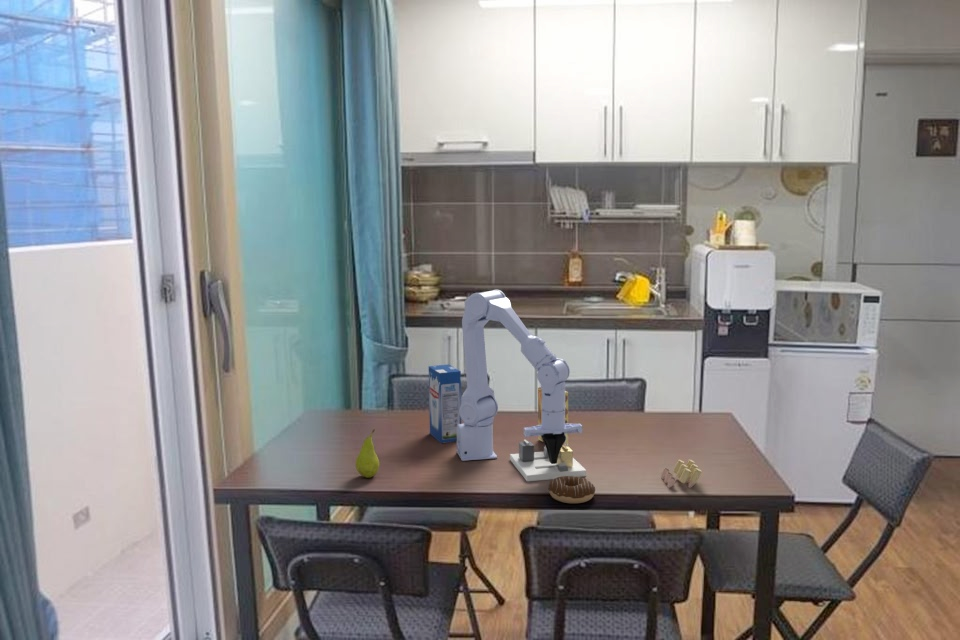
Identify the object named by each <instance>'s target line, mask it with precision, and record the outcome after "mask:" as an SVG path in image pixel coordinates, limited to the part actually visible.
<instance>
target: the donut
mask: <svg viewBox="0 0 960 640" xmlns="http://www.w3.org/2000/svg"><path fill="white" fill-rule="evenodd" d="M595 492H596V487H595V485H594V483H592V482H591V481H589V480H588V479H586V478H584V477H575V476H562V477H557V478H555V479H551V481H549V484H548V493H549V494H550V496H551V498H552V499H554V500H555V501H557V502H561V503H565V504H582V503H586V502H588V501H590V500H592V498H593V497H594V495H595Z"/></svg>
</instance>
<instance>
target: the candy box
mask: <svg viewBox="0 0 960 640" xmlns="http://www.w3.org/2000/svg"><path fill="white" fill-rule="evenodd" d="M537 410H538V411H537V417H538V418H537V423H538V424H537V425H542V390H541V386H540V387H537ZM565 423H567V424H569V392H568V391H566V390H565ZM564 435H565V436H566V440H565V445H568V446H569V433H565V434H564ZM537 439H538V441H540V442H542V443H544V441H543V439H542V437H541V435H540V436H538V437H537Z"/></svg>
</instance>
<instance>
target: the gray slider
mask: <svg viewBox="0 0 960 640" xmlns="http://www.w3.org/2000/svg"><path fill="white" fill-rule="evenodd" d="M534 452H535V445H534V443H533V442H531V440H529V441H528V440H527V439H523V441H518V454H519V458H520V459H521V460H522V461H534Z"/></svg>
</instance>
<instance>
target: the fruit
mask: <svg viewBox="0 0 960 640" xmlns="http://www.w3.org/2000/svg"><path fill="white" fill-rule="evenodd" d="M371 431H372V432H371V434H370V436H367V437H366V438H365V439H364V440H363V443H362V445H361V448H360V450H359V453H358V455H357V456H356V460H355V465H354V466H355V468H356V472H357V473H359V474H360V475H361V476H362V477H363V478H367V479H369V478H372V477H373V476H375V475H376V474H377V473H378V471H379V468H380V460H379V457H378V455H377V453H376V452H375V446H374V443H373V439H372V437H373V434H374V432H375V431H376V430H375V428H373V429H372V430H371Z"/></svg>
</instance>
